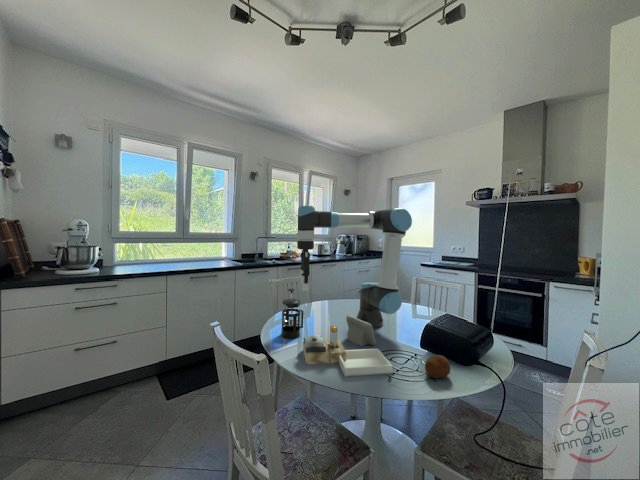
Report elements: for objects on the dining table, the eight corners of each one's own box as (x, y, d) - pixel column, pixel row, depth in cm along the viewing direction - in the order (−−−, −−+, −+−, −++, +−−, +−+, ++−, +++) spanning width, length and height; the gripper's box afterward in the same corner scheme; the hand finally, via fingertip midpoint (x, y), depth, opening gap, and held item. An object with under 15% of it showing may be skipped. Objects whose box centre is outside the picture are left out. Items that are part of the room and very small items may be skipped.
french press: (284, 340, 123) (285, 292, 122) (276, 333, 131) (277, 288, 130) (306, 336, 129) (307, 289, 128) (298, 329, 137) (299, 285, 136)
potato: (419, 376, 96) (419, 356, 96) (431, 366, 104) (431, 347, 104) (442, 386, 90) (444, 365, 90) (454, 374, 98) (454, 355, 98)
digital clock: (377, 346, 120) (378, 323, 120) (361, 350, 116) (362, 326, 116) (357, 333, 135) (358, 313, 134) (342, 336, 131) (343, 315, 130)
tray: (377, 355, 111) (378, 348, 111) (392, 373, 98) (392, 365, 97) (336, 357, 108) (336, 350, 108) (345, 376, 95) (345, 368, 94)
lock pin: (335, 353, 112) (336, 325, 111) (337, 357, 109) (338, 328, 108) (328, 354, 111) (329, 326, 111) (330, 357, 108) (331, 328, 108)
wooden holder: (338, 348, 117) (339, 331, 116) (345, 362, 105) (346, 343, 105) (302, 350, 114) (303, 333, 114) (305, 364, 102) (306, 345, 102)
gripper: (296, 239, 131) (295, 281, 132) (298, 241, 106) (297, 293, 107) (311, 239, 132) (310, 281, 133) (317, 241, 107) (315, 293, 108)
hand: (304, 287), depth 120 cm, fingers open, 13 cm apart
